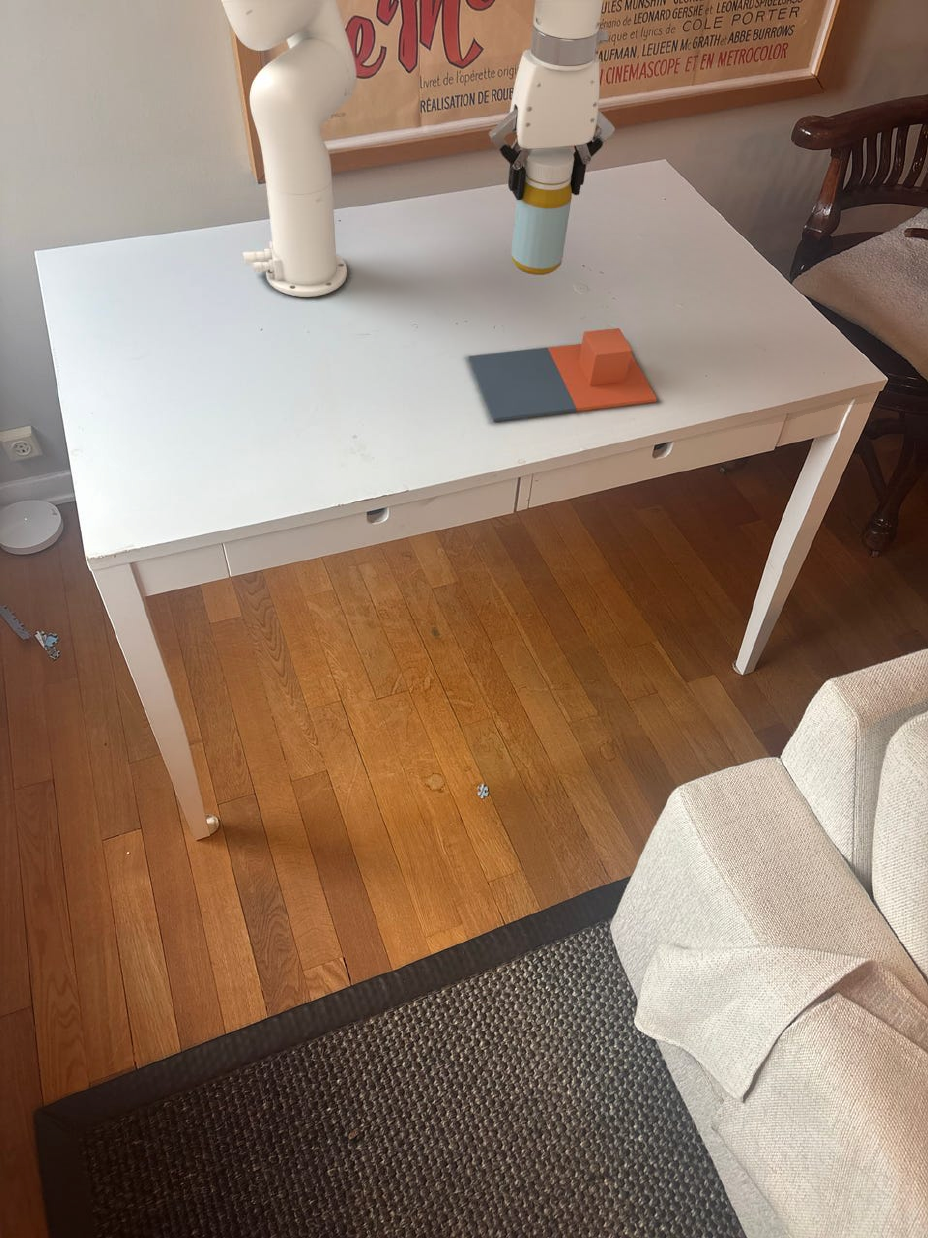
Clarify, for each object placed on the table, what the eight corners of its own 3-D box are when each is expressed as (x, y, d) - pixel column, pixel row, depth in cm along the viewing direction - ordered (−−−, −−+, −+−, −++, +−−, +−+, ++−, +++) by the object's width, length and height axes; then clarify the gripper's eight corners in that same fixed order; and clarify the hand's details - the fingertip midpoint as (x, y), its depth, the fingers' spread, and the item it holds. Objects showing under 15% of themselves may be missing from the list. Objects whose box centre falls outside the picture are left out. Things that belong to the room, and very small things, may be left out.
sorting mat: (493, 421, 132) (493, 418, 132) (468, 359, 140) (468, 355, 140) (656, 401, 137) (657, 398, 136) (622, 342, 145) (623, 338, 144)
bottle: (506, 271, 131) (517, 162, 119) (515, 244, 135) (527, 136, 123) (556, 280, 130) (573, 171, 118) (564, 253, 134) (581, 145, 123)
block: (589, 386, 137) (595, 354, 133) (577, 362, 140) (583, 331, 136) (625, 382, 138) (632, 350, 134) (612, 358, 141) (619, 327, 137)
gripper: (622, 26, 115) (597, 172, 129) (482, 33, 111) (472, 183, 125) (645, 53, 110) (617, 201, 124) (500, 61, 107) (488, 213, 121)
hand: (544, 191), depth 125 cm, fingers closed on bottle, 7 cm apart
